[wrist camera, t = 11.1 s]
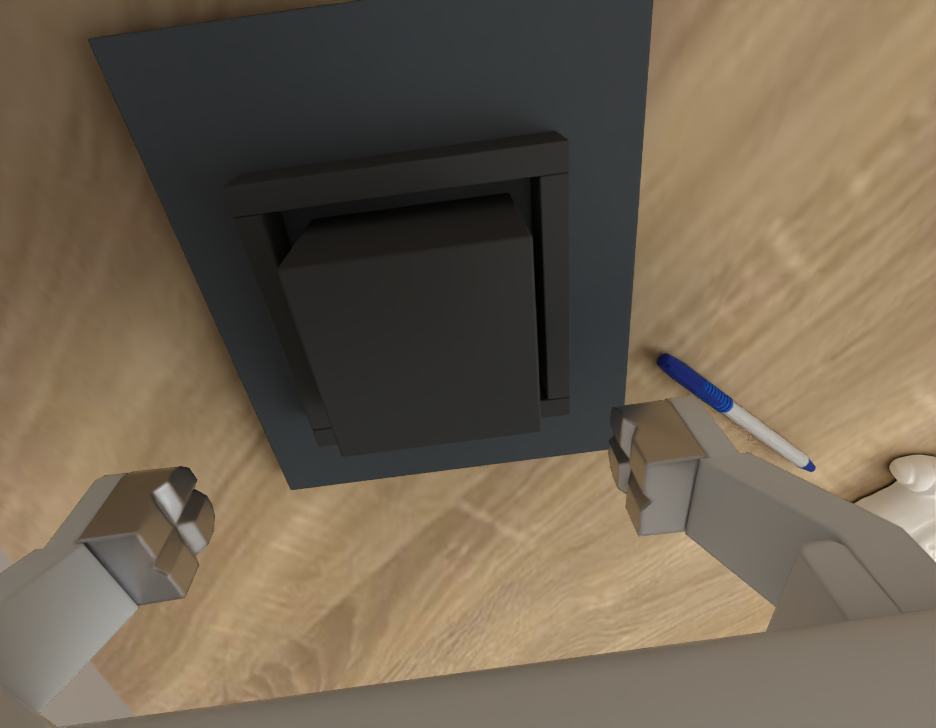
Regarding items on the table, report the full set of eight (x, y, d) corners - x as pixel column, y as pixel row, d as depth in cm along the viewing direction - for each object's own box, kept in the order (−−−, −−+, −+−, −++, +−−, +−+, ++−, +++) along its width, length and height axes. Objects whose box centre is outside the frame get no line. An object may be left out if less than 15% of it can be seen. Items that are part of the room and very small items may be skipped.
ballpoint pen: (646, 363, 19) (656, 377, 19) (663, 347, 19) (673, 361, 18) (801, 466, 23) (814, 481, 22) (817, 454, 23) (832, 469, 22)
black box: (358, 381, 18) (341, 459, 15) (310, 218, 15) (274, 270, 11) (521, 360, 18) (542, 432, 15) (510, 191, 15) (533, 235, 11)
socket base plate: (296, 473, 22) (280, 521, 19) (108, 39, 13) (43, 37, 11) (614, 432, 21) (634, 476, 19) (642, -37, 13) (685, -54, 11)
